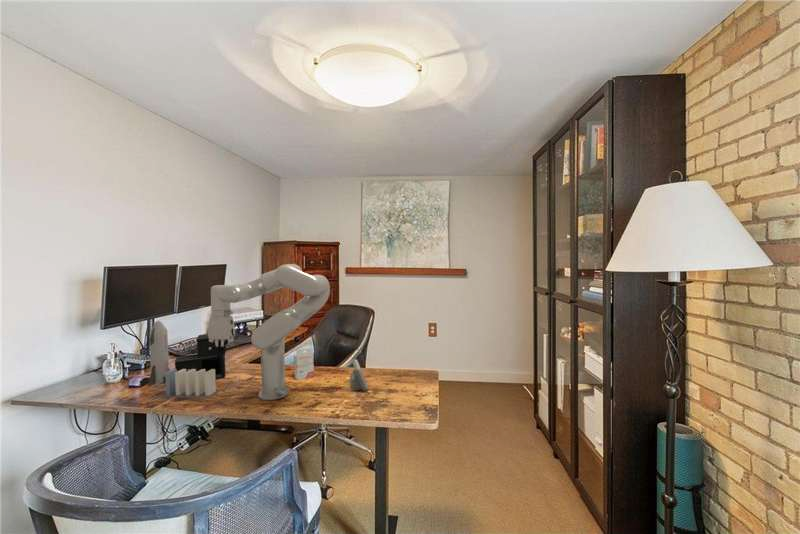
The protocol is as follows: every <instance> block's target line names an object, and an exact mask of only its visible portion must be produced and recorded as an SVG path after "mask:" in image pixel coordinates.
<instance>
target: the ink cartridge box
mask: <svg viewBox="0 0 800 534" xmlns="http://www.w3.org/2000/svg"><path fill="white" fill-rule="evenodd" d="M304 351H305V352H304ZM313 351H314V349H313V347H309V348H301V349H296V353H294V354H293V360H294V361H293V362H294V378H295V379H296V380H298V381H299V380H304V379H308V378H314V377H315V370H314V369H315V368H314V367H315V366H314V365H315V363H314V352H313Z"/></svg>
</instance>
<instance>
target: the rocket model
mask: <svg viewBox="0 0 800 534" xmlns="http://www.w3.org/2000/svg"><path fill="white" fill-rule="evenodd" d="M168 338H169V336H168V329H167V327H165V325H164V323H163V322H162V321H160V320H157V321H155V322H154V323H153V325H152V328H150V330H149V351H150V352H149V357H150V375H149V379H148V386H149V387H152V386H154V385H158V384H163V383H165V384H166V380H165V372H168V371H170V370H171V369H170V367H169V366H170V364H169V342H168V341H169V340H168Z"/></svg>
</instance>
